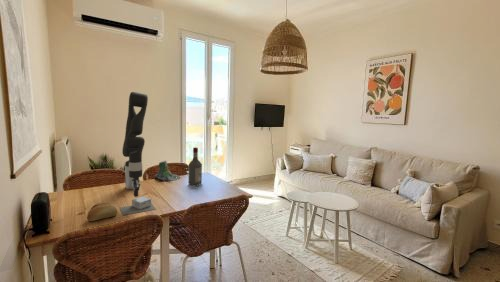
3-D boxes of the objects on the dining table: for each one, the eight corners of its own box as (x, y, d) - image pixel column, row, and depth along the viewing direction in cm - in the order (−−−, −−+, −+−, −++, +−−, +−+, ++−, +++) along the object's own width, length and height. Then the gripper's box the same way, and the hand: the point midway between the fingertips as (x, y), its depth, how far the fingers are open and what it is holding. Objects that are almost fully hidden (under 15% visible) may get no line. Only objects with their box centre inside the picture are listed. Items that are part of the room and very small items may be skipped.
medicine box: (131, 206, 153) (140, 209, 148) (131, 199, 152) (140, 202, 148) (142, 202, 160) (151, 205, 155) (142, 195, 159) (151, 198, 155)
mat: (119, 207, 150) (119, 207, 150) (151, 202, 161) (151, 202, 161) (122, 215, 141) (122, 214, 141) (155, 209, 151) (155, 208, 151)
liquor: (202, 183, 206) (203, 147, 202) (197, 186, 198) (197, 149, 194) (192, 181, 209) (193, 146, 205) (187, 184, 200) (187, 148, 196)
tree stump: (178, 182, 208) (173, 161, 204) (154, 187, 206) (148, 167, 202) (181, 175, 226) (176, 156, 222) (159, 180, 224) (154, 161, 220)
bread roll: (84, 219, 134) (83, 205, 133) (113, 211, 145) (113, 198, 144) (90, 225, 128) (89, 210, 127) (120, 216, 139) (120, 203, 138)
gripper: (144, 170, 148) (144, 198, 151) (140, 166, 159) (140, 192, 161) (130, 172, 144) (131, 200, 146) (127, 167, 155) (127, 194, 157)
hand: (136, 196), depth 154 cm, fingers closed
